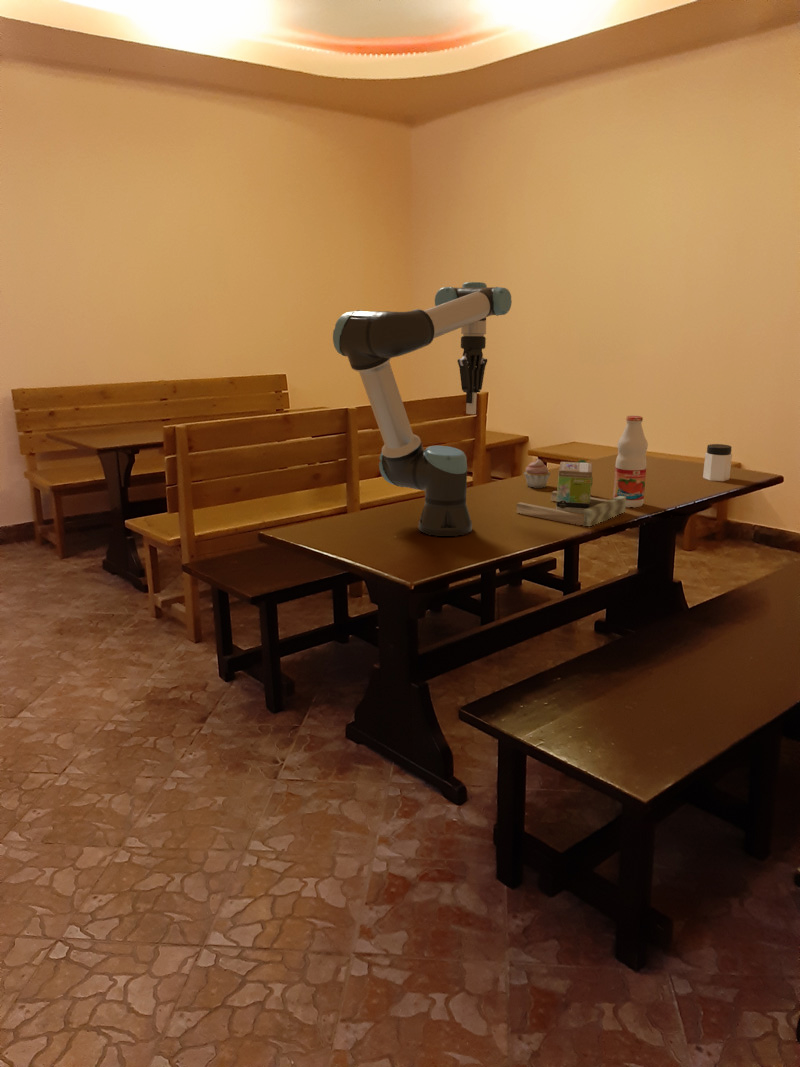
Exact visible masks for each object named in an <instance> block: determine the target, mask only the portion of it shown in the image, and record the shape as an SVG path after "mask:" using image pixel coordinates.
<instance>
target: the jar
mask: <svg viewBox="0 0 800 1067" xmlns="http://www.w3.org/2000/svg"><path fill="white" fill-rule="evenodd" d="M706 447H707V448H706V452H705V453H704V464H703V475H702V478H703V479H705V480H708V481H711V482H725V481H729V480H730V476H731V466H732V461H733V460H732V457H733V453H732V445H728V444H721V443H713V444H711V443H710V444H707V446H706Z"/></svg>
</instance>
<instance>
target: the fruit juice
mask: <svg viewBox="0 0 800 1067" xmlns="http://www.w3.org/2000/svg"><path fill="white" fill-rule="evenodd" d="M625 420H626V425H625V427H624V429H623V432H622V434H621V435H620V438H619V439H618V441H617V445H616V446H617V451H618V452H617V453H618V454H617V456H616V459H615V469H614V482H613V496H612V497H613V498H616V497H618V496H625V497H626V507H625V508H630V507H633V508H640V507H642V506H643V504H644V501H645V491H646V490H645V489H646V477H647V457H646V453H647V450H648V445H649V444H648V440H647V438H646V437H645V433H644V431H643V426H642V423H643V416H641V415H626V418H625ZM613 498H612V499H613Z"/></svg>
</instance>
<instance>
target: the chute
mask: <svg viewBox="0 0 800 1067" xmlns="http://www.w3.org/2000/svg"><path fill="white" fill-rule="evenodd" d="M550 494H551V495H550V501H551V502H553V501H555V503H557V490H554V491H551V492H550ZM626 508H627V507H626V497H625V496H618V497H616V498H610V499H604V498H598V497H592V496H590V507H589V508H587V509H585V510H584V514H580V513H575V512H569V511H564V510H559V509H556V508H553V507H546V506H542V505H536V504H533V503H530V504H529V503H525V502H518V503H516V514H518V513H520V515H524V516H529V517H533V518H534V517H535V518H539V519H545V520H549V521H550V520H551V521H554V522H559V523H566V524H569V523H570V524H571V525H575V524H576V525H575V526H580V525H583V526H582V527H585V526H592V525H594V526H596V525H595V524H597V525H599V524H601V523H600V522H602V523H603V521H604V522H606V521H608V519H609V520H610V518H611V519H613V518H615V516H616V517H618V516H620V515H619V514H621V513H623V514H625V513H626ZM624 512H625V513H624ZM617 515H618V516H617ZM621 515H622V514H621ZM612 517H613V518H612ZM598 523H599V524H598ZM592 527H593V526H592Z"/></svg>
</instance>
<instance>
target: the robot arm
mask: <svg viewBox="0 0 800 1067" xmlns="http://www.w3.org/2000/svg"><path fill="white" fill-rule="evenodd" d="M512 301H513V300H512V294H511V292H510V291H509V289H508V288H506V287H498V286H495V287H493V286H492V287H488V286H487V283H485V282H483V281H482V282H478V281H476V282H475V281H468V282H464V283H462V287H453V286H444V287H441V288H439V289H438V290H437V292H436V294H435V296H434V307H430V308H427V309H420V308H416V309H413V310H408V311H390V310H389V311H387V310H386V311H367V310H366V311H363V310H360V309H358V310H354V311H351V310H350V311H347V312H345V313H343V314H341V316H340V317H338V319H337V320H336V323H335V324H334V329H333V332H332V342H333V343H332V344H333V346H334V349H335V350H336V352H337V353H338V355H339V354H340V355H341V356H343V357H347V359H348V362H349V365H350V367H351V369H352V370H353V371H355V372H358V373H359V376H360V379H361V381H362V384H363V387H364V390H365V393H366V396H367V399H368V401H369V404H370V406H371V410H372V412H373V416H374V418H375V421H376V423H377V426H378V429H379V433H380V435H381V437H382V441H383V444H384V445H383V446H382V447H381V453H380V455H379V460H380V461H379V462H378V468H379V472H380V475H381V476H382V478H383V479H384V481H386V482H387V483H389V484H391V485H394V486H396V487H400V488H409V489H414V490H418V491H424V505H423V509H422V511H421V516H420V519H419V520H418V531H419V530H420V531H421V532H423V533H426V534H430V535H436V536H435V537H437V536H455V537H459V536H458V535H462V536H465V535H464V534H466V535H468V534H470V533H472V531H473V523H472V520H471V516H470V512H469V509H468V506H467V485H468V484H467V483H468V482H467V481H468V478H467V477H468V464H467V461H468V459H467V455H466V453H465V452H464V451H463V450H461V449H459V448H456V447H454V446H448V445H446V446H444V445H430V446H428V447H426V448H424V446H423V443H422V441H421V438H420V436H418V435H416V434H414V433H413V430H412V426H411V424H410V420H409V418H408V415H407V411H406V409H405V405H404V402H403V400H402V396H401V393H400V390H399V387H398V384H397V381H396V377H395V375H394V371H393V369H392V366H391V363H390V361H391V359H394V358H398V357H400V356H404V355H407V354H410V353H412V352H415V351H418V350H419V349H423V348H425V347H427V346H429V345H431V344H432V342H433V341H434V339H436V338H439V337H442V336H443V335H446V334H448V333H450V332H451V333H452V332H453V331H456V330H458V329H461V330H460V333H461V337H460V348H461V349H463V352H462V357H461V358H458V359H457V364H458V367H459V376H460V386H461V391H462V392H463V393H466V394H465V402H466V404H465V406H466V407H465V410H466V411H465V415H466V414H468V415H476V414H477V401H478V400H477V399H478V393H481V391H482V388H483V384H484V376H485V370H486V366H487V364H488V358H484V357H483V356H484V354H483V350H484V349H486V343H487V341H486V340H487V338H486V336H485V335H487V318H488V317H491V316H497V317H498V316H505V315H507V314H508V313H509V312H510V310H511V307H512ZM420 531H419V532H420ZM421 532H420V533H421ZM469 532H470V533H469ZM423 533H422V534H423ZM467 533H468V534H467ZM426 534H425V535H426ZM430 535H429V536H430Z"/></svg>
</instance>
